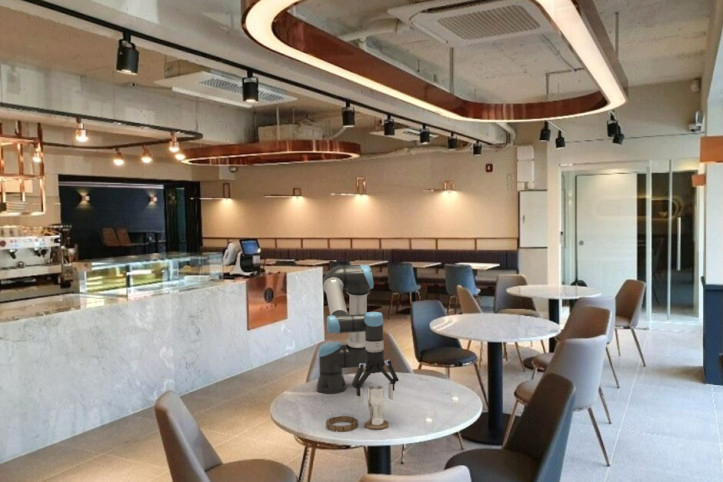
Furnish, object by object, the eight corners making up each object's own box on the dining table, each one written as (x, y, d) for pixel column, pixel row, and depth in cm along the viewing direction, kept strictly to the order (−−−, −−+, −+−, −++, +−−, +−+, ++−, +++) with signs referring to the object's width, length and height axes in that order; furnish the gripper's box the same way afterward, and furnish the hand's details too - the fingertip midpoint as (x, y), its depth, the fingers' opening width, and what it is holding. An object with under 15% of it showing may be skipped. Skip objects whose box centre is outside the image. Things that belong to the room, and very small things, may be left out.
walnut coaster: (360, 423, 241) (360, 421, 241) (382, 420, 244) (382, 417, 244) (370, 431, 231) (370, 429, 231) (392, 427, 235) (392, 425, 235)
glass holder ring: (322, 423, 242) (321, 419, 242) (350, 418, 247) (350, 414, 247) (332, 433, 230) (332, 428, 230) (362, 428, 235) (362, 423, 235)
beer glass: (369, 426, 234) (368, 390, 234) (367, 420, 241) (366, 385, 241) (386, 425, 235) (385, 389, 234) (383, 419, 242) (382, 384, 241)
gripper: (349, 355, 229) (351, 408, 230) (405, 348, 238) (406, 399, 239) (343, 351, 236) (344, 403, 236) (397, 345, 245) (398, 394, 246)
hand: (375, 401), depth 238 cm, fingers open, 13 cm apart
